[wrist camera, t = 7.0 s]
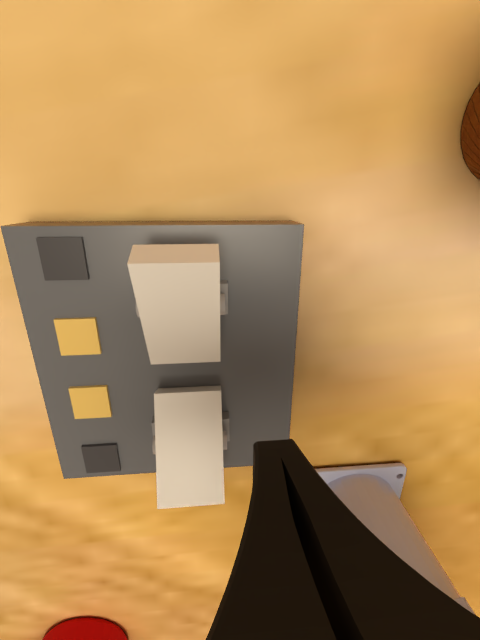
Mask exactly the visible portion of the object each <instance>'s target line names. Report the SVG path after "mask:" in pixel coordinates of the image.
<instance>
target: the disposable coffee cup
mask: <svg viewBox="0 0 480 640" xmlns="http://www.w3.org/2000/svg"><path fill="white" fill-rule="evenodd" d="M461 145H462V151H463V156H464V159H465V161H466V164H467V165H468V167H469V169H470V170H471V172H472V173H473V174H474V175H475V176H476V177H477V178H478V179H480V84H479V85H478V87H477V88H476V90H475V92H474V93H473V95H472V97H471V99H470V101H469V103H468V106H467V109H466V112H465V114H464V119H463V124H462V129H461Z"/></svg>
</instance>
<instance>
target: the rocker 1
mask: <svg viewBox="0 0 480 640" xmlns="http://www.w3.org/2000/svg"><path fill="white" fill-rule="evenodd" d="M127 265H128V269H129V274H130V278H131V282H132V286H133V290H134V295H135V299H136V313H137V316H138V317H140V320H141V324H142V329H143V333H144V337H145V341H146V345H147V350H148V354H149V358H150V362H151V365H152V364H176V363H200V362H220V315H225V294H220V258H219V244H151V245H133V246H132V249H131V253H130V256H129V259H128V263H127Z"/></svg>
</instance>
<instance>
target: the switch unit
mask: <svg viewBox="0 0 480 640" xmlns="http://www.w3.org/2000/svg"><path fill="white" fill-rule="evenodd" d="M1 230H2V234H3V238H4V242H5V246H6V250H7V254H8V258H9V262H10V266H11V270H12V274H13V278H14V282H15V286H16V290H17V294H18V298H19V302H20V306H21V310H22V314H23V318H24V322H25V326H26V330H27V334H28V338H29V342H30V346H31V350H32V354H33V358H34V362H35V366H36V370H37V373H38V377H39V381H40V385H41V389H42V393H43V397H44V401H45V405H46V409H47V413H48V417H49V421H50V425H51V429H52V433H53V437H54V441H55V445H56V449H57V453H58V457H59V461H60V465H61V469H62V473H63V477H64V479H67V478H82V477H96V476H110V475H125V474H139V473H154V472H156V454H153V448H152V444H153V436H154V435H155V415H154V393H155V392H156V391H157V389H158V388H176V387H197V386H218V385H220V386H221V402H222V431H227V450H223V467H224V468H226V467H241V466H253V444H254V443H255V442H257V441H270V440H285V439H289V434H290V420H291V405H292V391H293V377H294V362H295V348H296V333H297V319H298V304H299V290H300V276H301V261H302V247H303V232H304V224H301V223H298V222H294V221H127V222H25V223H19V224H12V225H5V226H1ZM151 244H219V258H220V294H225V315H220V362H200V363H176V364H152V365H151V362H150V358H149V354H148V350H147V345H146V341H145V337H144V333H143V329H142V324H141V320H140V317H138V316H137V313H136V299H135V295H134V290H133V286H132V282H131V278H130V274H129V269H128V265H127V263H128V259H129V256H130V253H131V249H132V246H133V245H151Z"/></svg>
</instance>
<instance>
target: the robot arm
mask: <svg viewBox="0 0 480 640" xmlns="http://www.w3.org/2000/svg"><path fill="white" fill-rule="evenodd" d="M406 471H407V468H406V467H405V465H404V464H403V463H390V464H376V465H362V466H348V467H333V468H319V469H314V468H313V466H312V465H311V464H310V462H309V461H308V460H307V458H306V457H305V456H304V454H303V453H302V452H301V450H300V449H299V447H298V446H297V444H296V443H295V442H294V441H293V440H292V439H285V440H270V441H257V442H255V443H254V444H253V488H252V495H251V500H250V505H249V510H248V515H247V520H246V524H245V528H244V532H243V536H242V539H241V543H240V547H239V550H238V553H237V557H236V560H235V563H234V566H233V569H232V572H231V575H230V578H229V581H228V584H227V587H226V590H225V592H224V595H223V598H222V600H221V603H220V605H219V608H218V611H217V613H216V616H215V618H214V621H213V624H212V626H211V629H210V631H209V633H208V636H207V638H206V640H480V618H479V617H477V616H476V615H475V613H474V612H473V610H472V609H471V607H470V606H469V604H468V602H467V601H466V599H465V598H464V597H460V595H459V593H458V592H457V590H456V589H455V587H454V586H453V584H452V582H451V581H450V579H449V578H448V576H447V574H446V573H445V571H444V570H443V568H442V566H441V565H440V563H439V562H438V560H437V558H436V557H435V555H434V554H433V552H432V551H431V549H430V547H429V546H428V544H427V543H426V541H425V539H424V538H423V536H422V535H421V533H420V531H419V530H418V528H417V527H416V525H415V523H414V522H413V520H412V519H411V517H410V516H409V514H408V512H407V511H406V509H405V508H404V506H403V504H402V503H401V501H400V496H401V492H402V488H403V484H404V479H405V475H406Z"/></svg>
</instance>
